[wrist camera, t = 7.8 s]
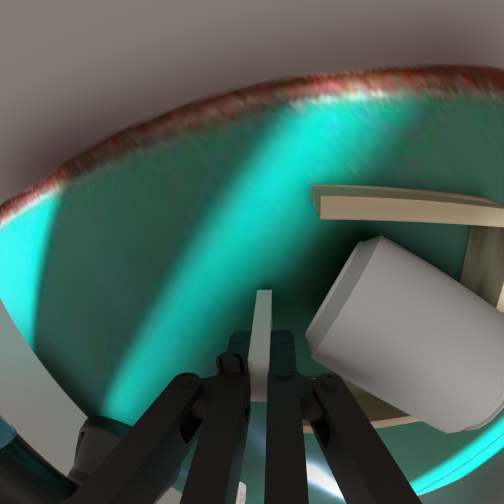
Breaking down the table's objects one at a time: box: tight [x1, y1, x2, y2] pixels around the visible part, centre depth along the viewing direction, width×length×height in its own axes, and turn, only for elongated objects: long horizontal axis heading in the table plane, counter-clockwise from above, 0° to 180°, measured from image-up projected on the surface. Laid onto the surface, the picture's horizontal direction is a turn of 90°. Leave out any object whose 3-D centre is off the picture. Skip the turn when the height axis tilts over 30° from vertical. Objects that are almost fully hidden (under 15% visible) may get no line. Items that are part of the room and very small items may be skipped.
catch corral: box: [302, 184, 504, 433], centre depth 16 cm, size 16×13×5 cm
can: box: [305, 235, 504, 433], centre depth 13 cm, size 8×8×12 cm
